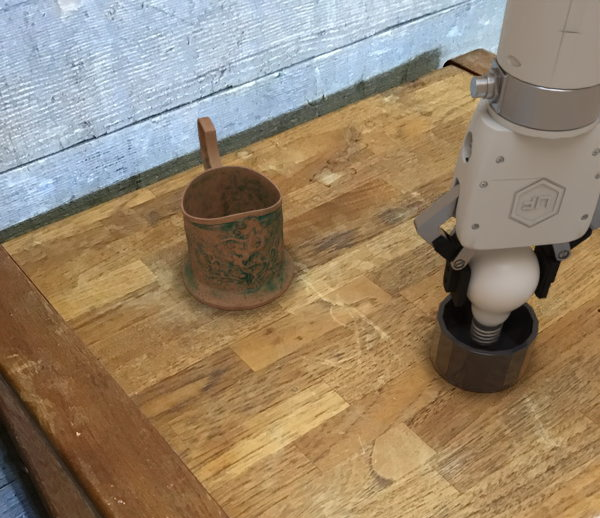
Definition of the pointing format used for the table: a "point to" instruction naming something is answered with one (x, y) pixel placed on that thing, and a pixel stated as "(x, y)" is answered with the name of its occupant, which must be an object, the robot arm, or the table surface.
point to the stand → (482, 348)
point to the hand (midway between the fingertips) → (495, 290)
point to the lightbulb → (499, 288)
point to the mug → (233, 233)
